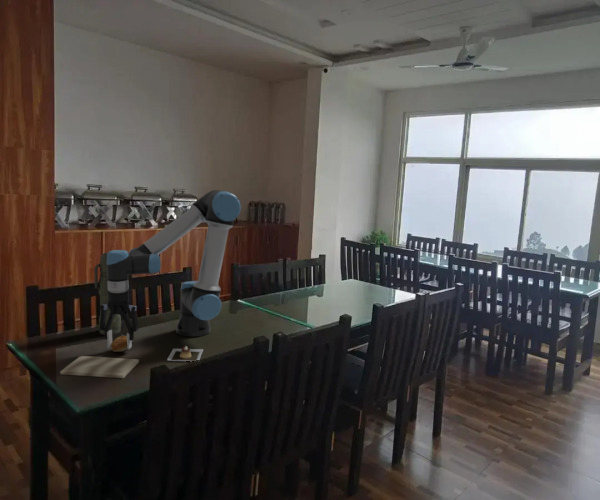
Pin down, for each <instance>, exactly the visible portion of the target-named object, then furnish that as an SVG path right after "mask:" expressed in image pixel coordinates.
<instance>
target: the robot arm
mask: <svg viewBox="0 0 600 500" xmlns="http://www.w3.org/2000/svg"><path fill="white" fill-rule="evenodd" d="M241 209H242V207H241V202H240V200H239V198H238V197H237V196H236V195H235V194H234V193H231V192H229V191H226V190H217V189H216V190H211V191H209V192H207V193H206V192H205V194H203V195H202V196H201V197H199V199H197V200H195V202H193V203H192V204H191V205H190V208H189V209H188V210H186V211H185V212H184V213H182V214H181V215H179V216H178V217H177V218H176V219H174V220H173V221H172V222H170V223H168V225H166V226H165V227H164V228H163V229H161V230H159V231H158V232H157V233H156V234H154V235H153V236H152V237H150V238H149V239H148V240H146V241H145V242H143V243H142V244H141V245H139V246H138V247H133V248H132V249H130V250H129V251H128V250H125V249H115V250H114V249H113V250H110V251H108V252H106V253H107V280H108V291H109V292H108V304H103V305H101V306H100V305H99V308H100V309H101V318H100V328H99V331H100V330H104V331H105V335H104V339H105V340H107V341H106V342H107V344H106V345H107V349H110V348H112V346H111V345H112V342H113V335H112V330H109V329H111V328H110V327H111V325H112V322H113V319H114V316H115V315H116V314H119V315H120V316H121V318H123V322H124V324H125V326H126V328H127V331H128V332H127V333H126V337H127V349H126V350H130V349H131V348H132V347H133V346H132V345H133V344H132V343H133V340H134V338H135V332H137V331H138V330H139V329H140V327H139V321H138V315H137V314H138V312H137V310H138V305H132V304H131V303H130V301H129V300H130V294H129V293H130V292H129V289H130V285H129V275H130V276H132V275H147V274H148V275H149V274H150V275H152V274H156V273H159V272H161V267H162V262H161V258H160V257H161V256H160V254H161V253H163V252H164V251H165V250H167V249H168V248H170V247H171V246H172V245H174V244H175V243H176V242H178V240H180V239H181V238H183V237H184V236H185V235H187V234H188V233H190V231H193V230H194V229H195V228H196V227H197V226H198V225H200V224H202V223H206V224H207V225H208V226H207V232H206V236H205V240H204V247H203V252H202V258H201V261H200V262H201V263H200V266H199V267H200V268H199V271H198V272H199V273H198V278H197V280H191V281H184V282H182V283H181V286H180V288H179V289H180V315H179V318H178V321H177V323H176V326H175V327H176V329H175V331H176V334H178V335H180V336H182V337H188V338H190V337H191V338H193V337H194V338H195V337H203V336H206V335H208V334H210V333H211V324H210V320H212V319H215V318H216V317H218V315H219V314H220V312H221V309H222V301H221V299H220V295H221V290H222V288H221V287H220V286H219V285H220V284H219V281H220V277H221V271H222V266H223V263H224V262H223V261H224V256H225V250H226V245H227V240H228V236H229V231H230V229H232V228H233V227H234V223H235V219H237V218H238V217H239V215H240V213H241ZM108 308H109V309H110V311H111V312H110V314H109V318H108V321H107V324H106V315H107V309H108ZM129 311H130V315H129ZM130 316H131V317H130Z"/></svg>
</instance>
